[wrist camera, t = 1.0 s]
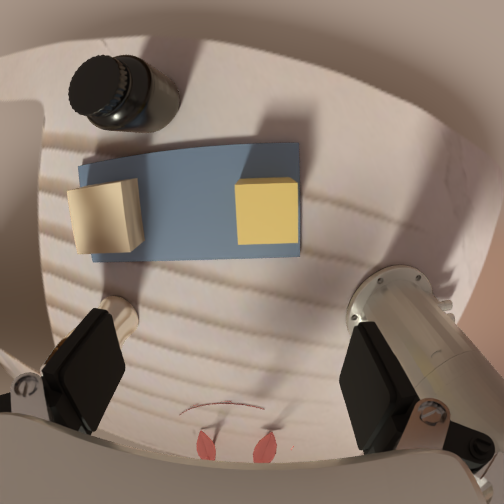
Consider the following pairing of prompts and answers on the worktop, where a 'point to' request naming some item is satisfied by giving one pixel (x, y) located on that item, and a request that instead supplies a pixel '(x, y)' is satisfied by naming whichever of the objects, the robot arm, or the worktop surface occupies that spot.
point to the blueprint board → (196, 199)
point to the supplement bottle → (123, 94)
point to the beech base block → (106, 217)
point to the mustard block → (267, 210)
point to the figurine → (261, 453)
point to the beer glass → (122, 319)
